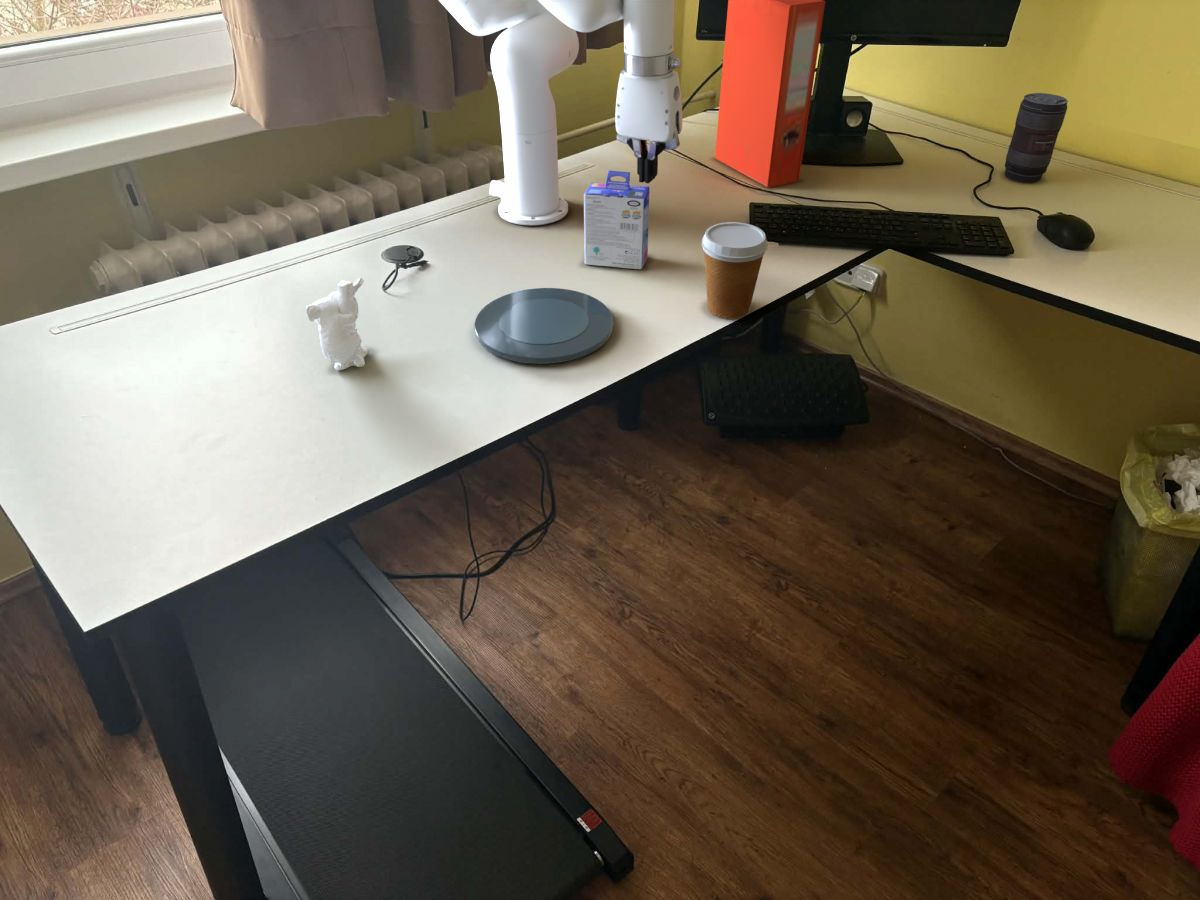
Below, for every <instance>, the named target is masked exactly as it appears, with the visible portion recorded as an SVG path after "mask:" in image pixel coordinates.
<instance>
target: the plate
mask: <svg viewBox="0 0 1200 900" xmlns="http://www.w3.org/2000/svg"><path fill="white" fill-rule="evenodd" d="M613 329H614V318H613V314H612V312H611V310H610V309H609V308H608V307H607V305H606V304H604V303H603V301H601V300H599V299H598V298H596V297H594V296H591V295H589V294H586V293H584V292H580V291H577V290H573V289H567V288H560V287H558V288H557V287H538V288H536V287H535V288H528V289H523V290H517V291H514V292H510V293H508V294H505V295H501V296H499V297H498V298H496V299H494V300H492V301H490V302H489V303H487V304H486V305H484V307H483V308H481V310H480V311H479V312H478V314H477V315H476V318H475V321H474V333H475V336H476V339H477V340H478V342H479V344H480V345H481V346H482V347H483V348H484V349H486V350H487V351H488V352H490V353H492V354H493V355H496V356H497V357H500V358H503V359H506V360H508V361H512V362H518V363H523V364H524V363H525V364H537V365H538V364H542V365H543V364H544V365H545V364H556V363H563V362H569V361H573V360H576V359H579V358H583V357H584V356H587V355H590V354H591V353H594V352H595V351H597V350H598V349H599V348H601V347H603V345H605V344H606V343H607V341H608V340H609V339H610V337H611V335H612V333H613Z"/></svg>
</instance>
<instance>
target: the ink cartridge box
mask: <svg viewBox="0 0 1200 900" xmlns="http://www.w3.org/2000/svg"><path fill="white" fill-rule="evenodd" d="M613 177H620V178H621V177H622V178H623V179H625V181H619V180H612V179H611V178H613ZM630 179H631V172H630V171H618V170H607V176H606V181H605V183H600V182H591V183H590V184H589V185H588V188H587V189H586V190H585V192H584V193H583V230H584V231H583V233H584V236H583V239H584V240H583V241H584V243H583V244H584V245H583V246H584V261H583V262H584V263H583V264H584V265H587V266H600V267H612V268H622V269H632V270H633V269H634V270H643V267H644V265H645V264H646V261H647V260H648V256H649V255H648V254H649V222H650V221H649V220H650V186H649V185H640V184H639V185H636V184H630V182H631V180H630Z"/></svg>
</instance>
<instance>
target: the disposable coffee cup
mask: <svg viewBox="0 0 1200 900" xmlns="http://www.w3.org/2000/svg"><path fill="white" fill-rule="evenodd" d="M700 242H701V247H702V250H703V251H704V252H703V253H704V267H705V269H704V270H705V271H704V272H705V287H706V301H707V302H706V303H707V306H706V307H707V310H708V312H709V313H710V314H711V315H713V316H715V317H717V318H721V319H725V320H733V319H736V320H737V319H741V318H743V317H745V316H747V315H748V314H749V313H750V309H751V305H752V301H753V298H754V294H755V289H756V287H757V286H756V285H757V281H758V278H759V274H760V270H761V266H762V262H763V258H764V255H765V254H766V251H767V250H768V248H769V242H768V240H767V236H766V233H765V232H764V230H763V229H761V228H760V227H758V226H756V225H753V224H750V223H745V222H740V221H727V222H726V221H725V222H720V223H716V224H714V225H712V226H709V227H708V228H707V229H706V230H705V233H704V235H703V237H702V238H701V241H700Z"/></svg>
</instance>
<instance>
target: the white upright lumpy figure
mask: <svg viewBox="0 0 1200 900" xmlns="http://www.w3.org/2000/svg"><path fill="white" fill-rule="evenodd" d="M364 281H365V279H363V278H362V277H359V278H358V279H356V281H355V282H352V281H350V280H339V282H338V283H337V291H335V290H333V291H332V292H330V293H329V295H328V296H327V297H324V298H321V299H318V300H316V301H314V302H313V303H312V304H311V303H309V304H306V307H305V313H306V318H307V319H308V320H309V321H310V322H311V323H313V322H315V323H317V324H318V326H317V330H318V336H319V345H320V349H321V352H322V354H323V357H324V358H326V360H327V361H329V362H330V363H333V364H334V369H335V371H342V370H345V369H348V368H349V367H351V366H353V367H358V368H362V367H364V366H365V364H366V362H365V357H366V356H367V355H368V354H370V349H369V348H367V347H362V338H361V335H360V334H359V333H358V328H357V327H356V326H357V324H356V321H357V320H358V317H359V303H358V301H357V299H356V298H357V297H355V294H356V293H357V292H358V290H359V289H360V288H362V286H363V284H364Z"/></svg>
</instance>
